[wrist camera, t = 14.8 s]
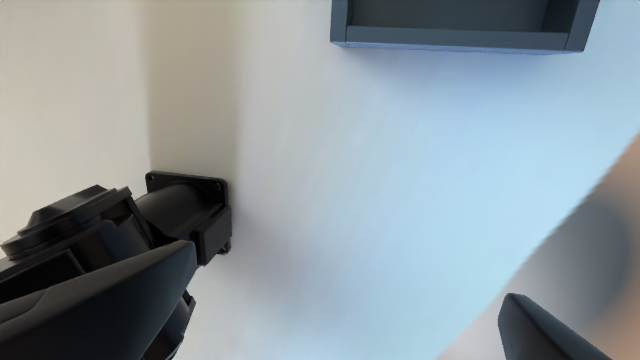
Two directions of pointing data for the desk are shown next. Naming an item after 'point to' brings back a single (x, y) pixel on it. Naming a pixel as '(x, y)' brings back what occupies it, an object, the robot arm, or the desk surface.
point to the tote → (465, 25)
